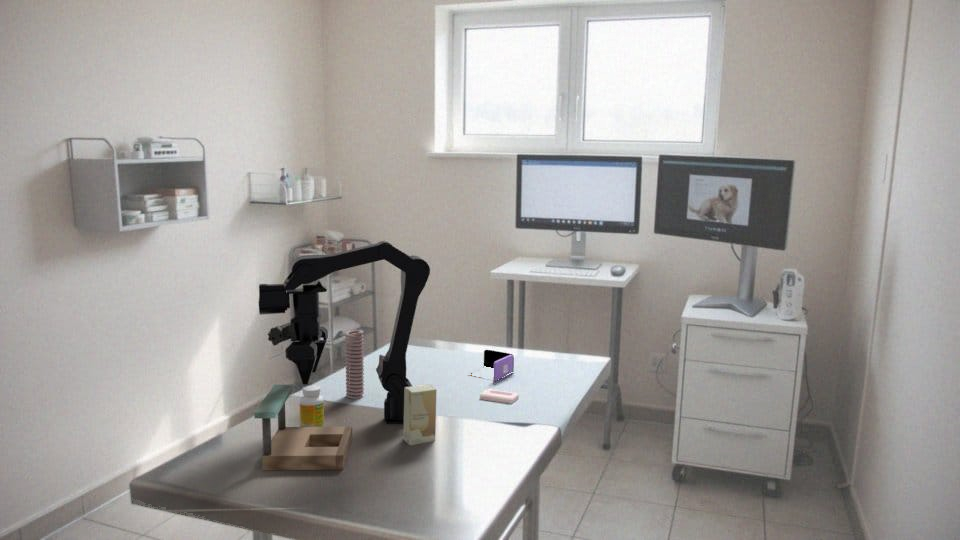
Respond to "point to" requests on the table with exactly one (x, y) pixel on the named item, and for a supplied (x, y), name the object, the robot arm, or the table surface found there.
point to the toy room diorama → (499, 363)
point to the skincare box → (419, 414)
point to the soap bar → (499, 396)
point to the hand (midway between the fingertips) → (309, 378)
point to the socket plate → (299, 439)
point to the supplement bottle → (311, 407)
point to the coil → (354, 364)
